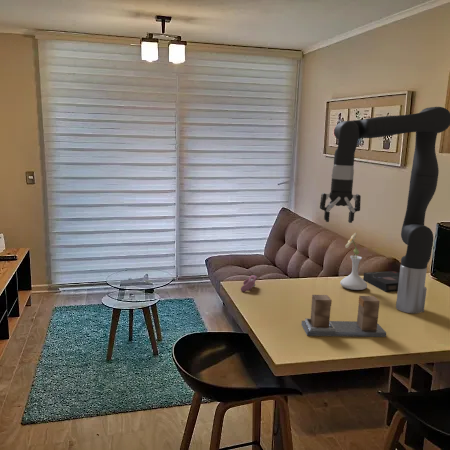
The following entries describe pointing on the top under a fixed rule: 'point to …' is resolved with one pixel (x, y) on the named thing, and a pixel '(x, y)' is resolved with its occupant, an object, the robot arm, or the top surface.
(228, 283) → the top surface
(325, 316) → the walnut finger
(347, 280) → the flower in vase
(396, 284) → the portable cd player
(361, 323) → the block
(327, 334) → the rail
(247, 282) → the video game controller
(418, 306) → the robot arm
